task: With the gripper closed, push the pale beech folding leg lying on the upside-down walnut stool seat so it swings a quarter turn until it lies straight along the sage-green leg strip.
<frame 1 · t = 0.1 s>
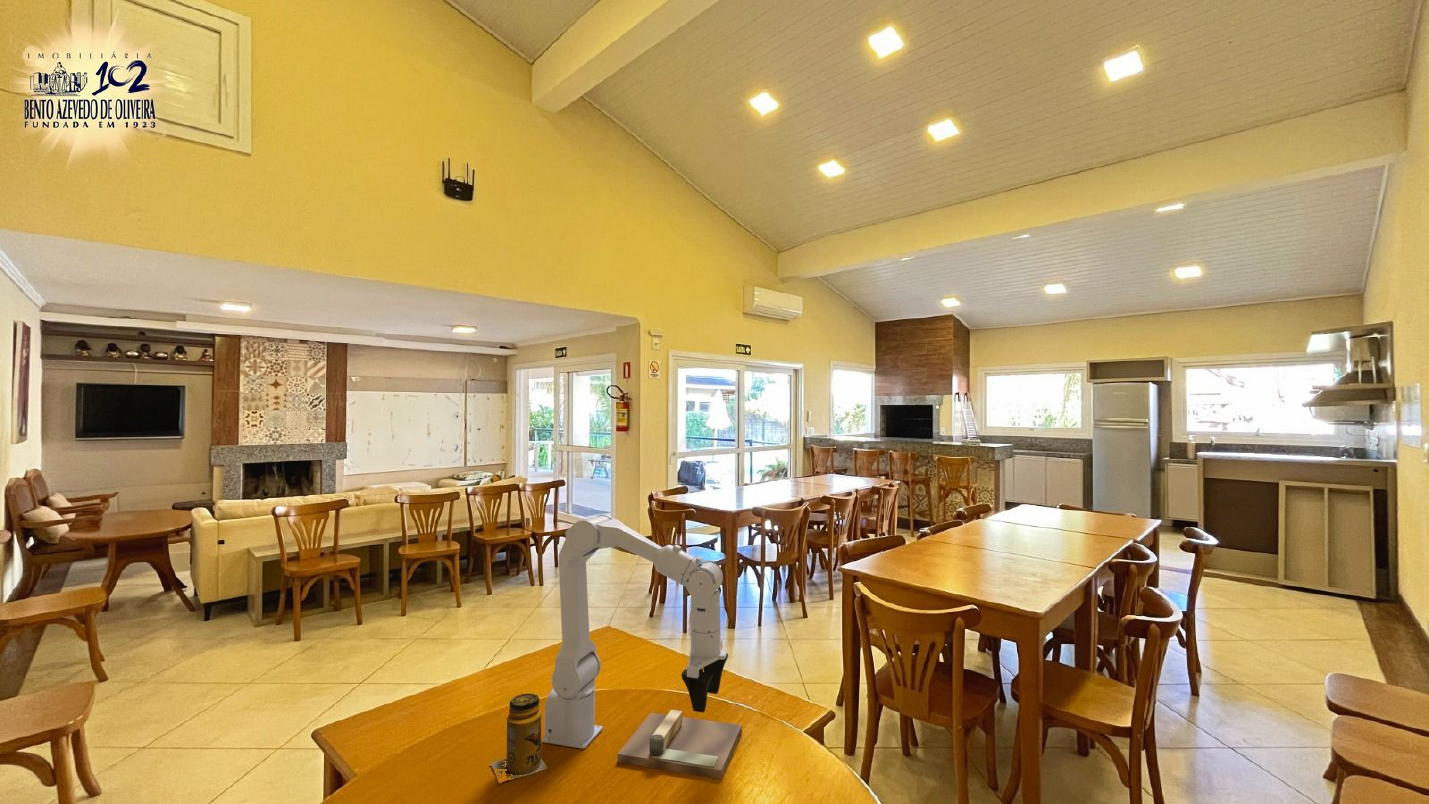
hand: (706, 701, 105), 10 cm above the table, tool pointing down, fingers open, 7 cm apart
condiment: (518, 768, 102), on the table
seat: (682, 746, 108), on the table
leg: (665, 731, 108), point 3 cm above the table, hinge at 90.0°
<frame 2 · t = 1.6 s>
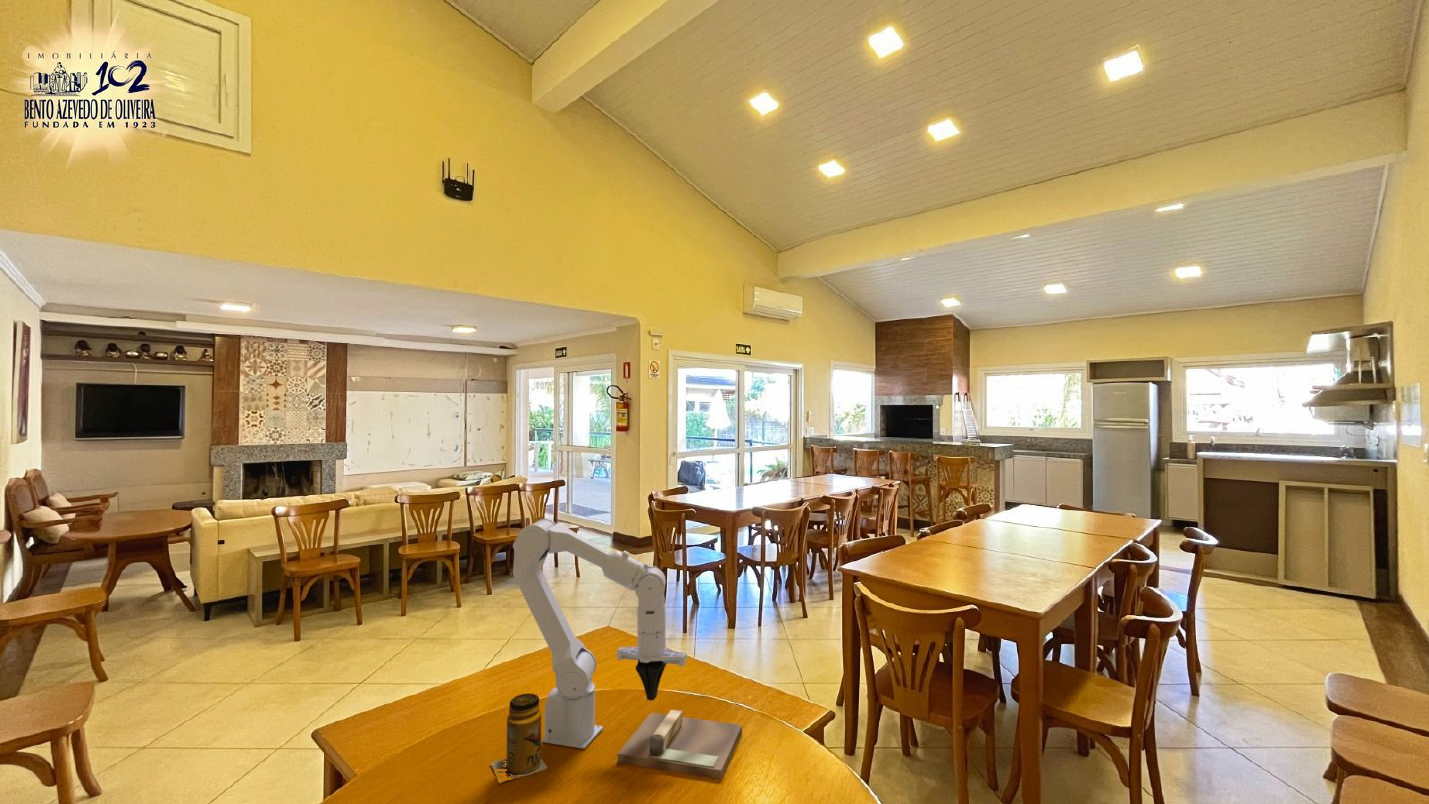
hand: (651, 698, 113), 7 cm above the table, tool pointing down, fingers closed
nothing on the table moved.
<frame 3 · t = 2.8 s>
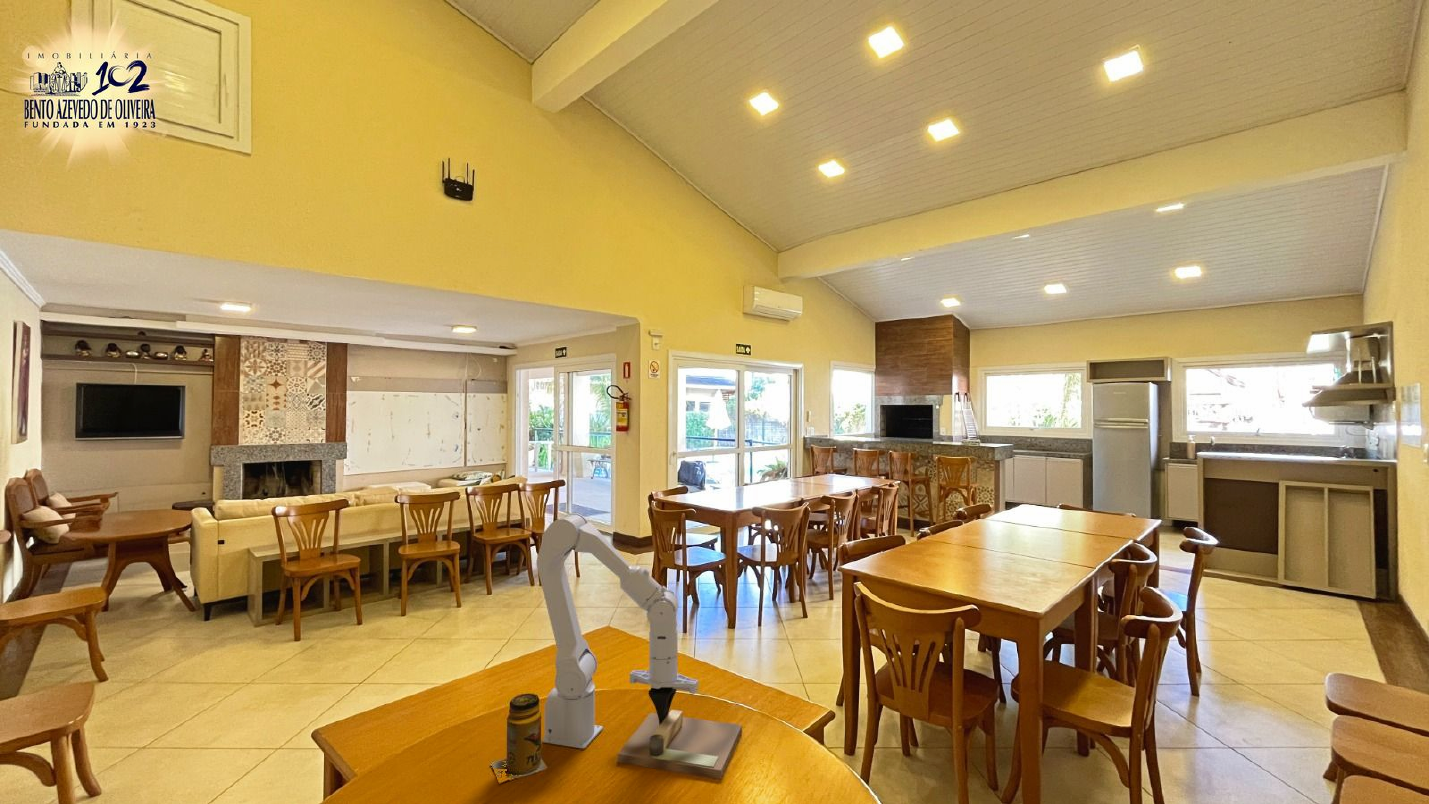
hand: (663, 723, 112), 3 cm above the table, tool pointing down, fingers closed, pressing on leg
leg: (666, 731, 108), point 3 cm above the table, hinge at 89.6°, touching gripper
everything else where it was.
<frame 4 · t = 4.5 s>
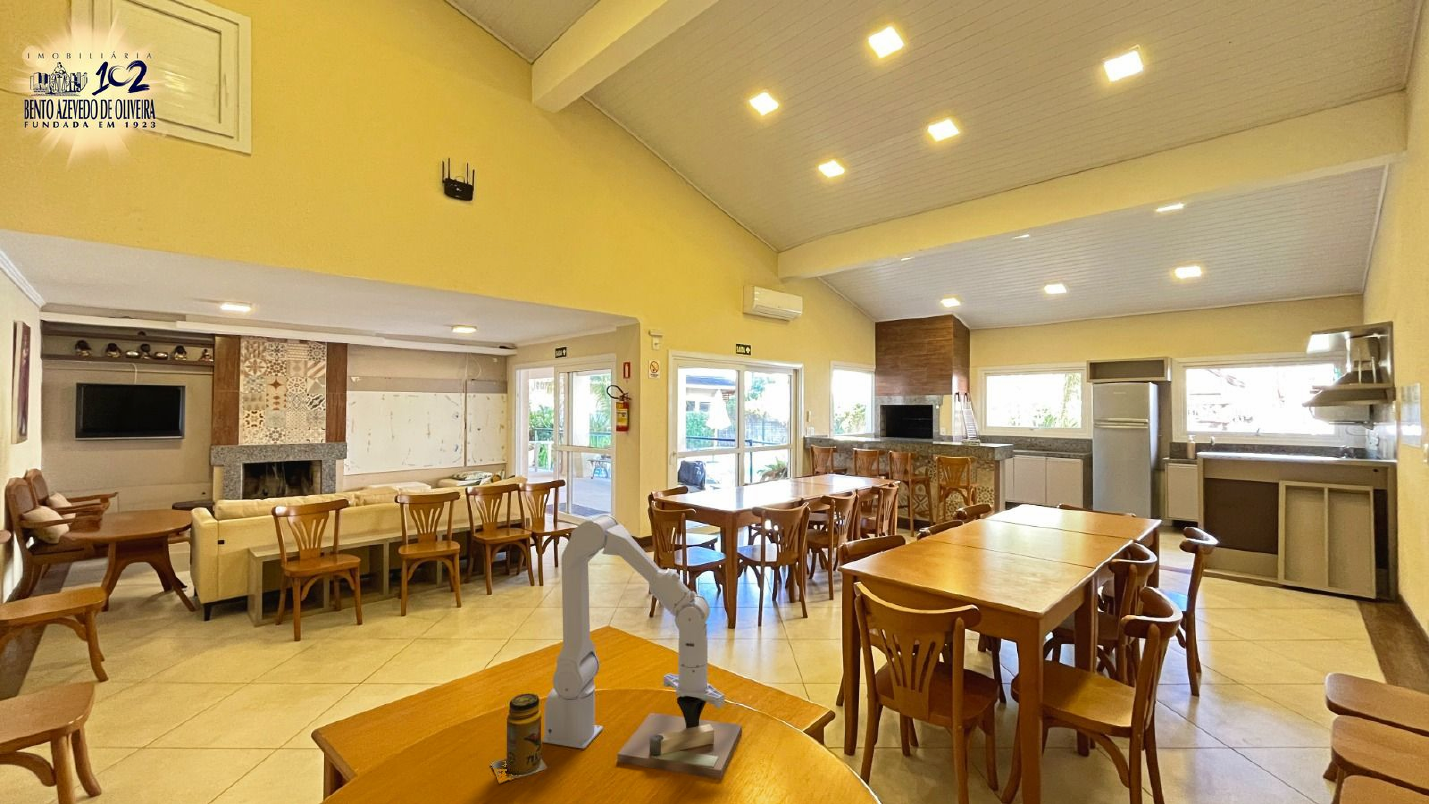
hand: (692, 733, 108), 3 cm above the table, tool pointing down, fingers closed, pressing on leg
leg: (681, 739, 105), point 3 cm above the table, hinge at 36.7°, touching gripper
everything else where it was.
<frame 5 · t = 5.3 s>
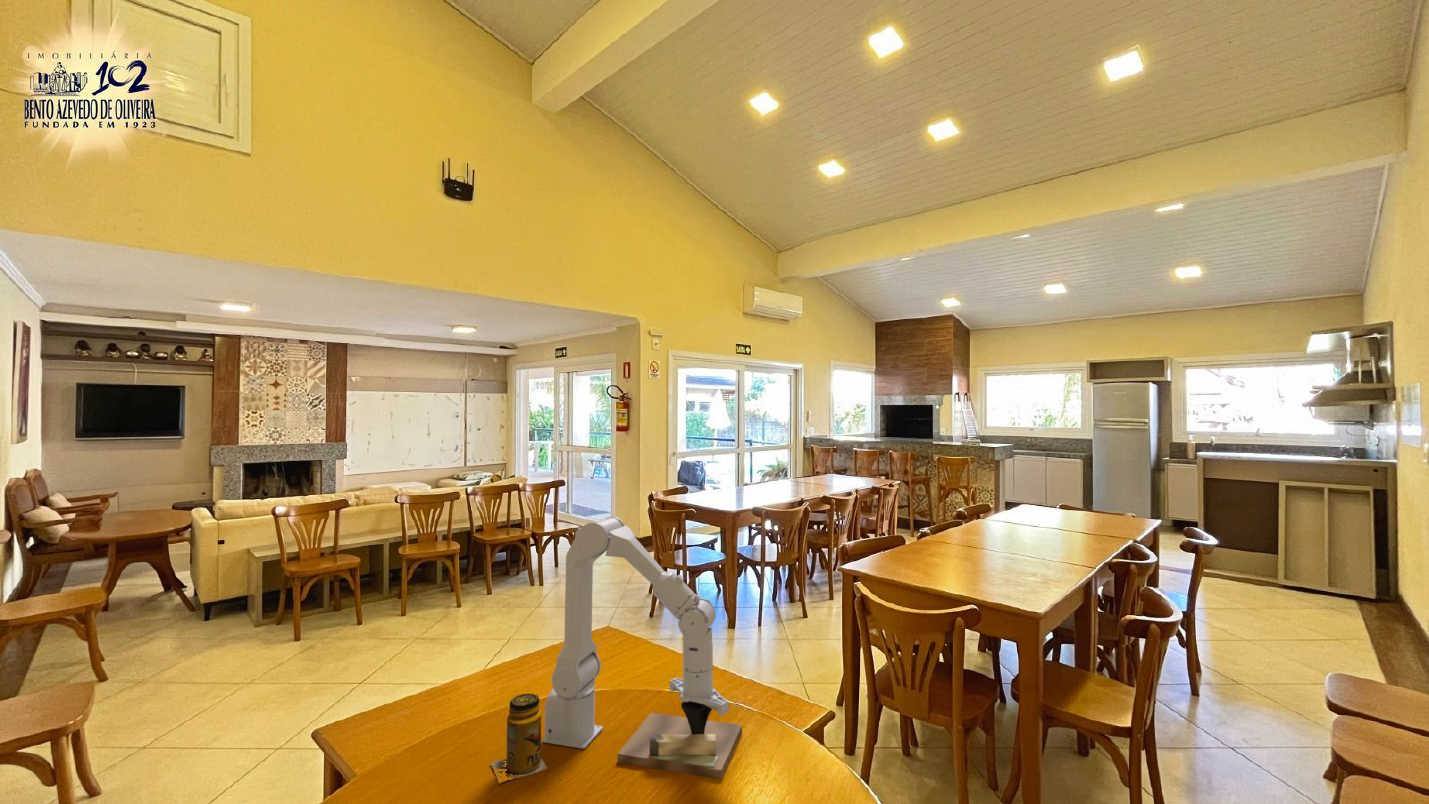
hand: (698, 740, 106), 3 cm above the table, tool pointing down, fingers closed, pressing on leg
leg: (682, 744, 103), point 3 cm above the table, hinge at 16.3°, touching gripper
everything else where it was.
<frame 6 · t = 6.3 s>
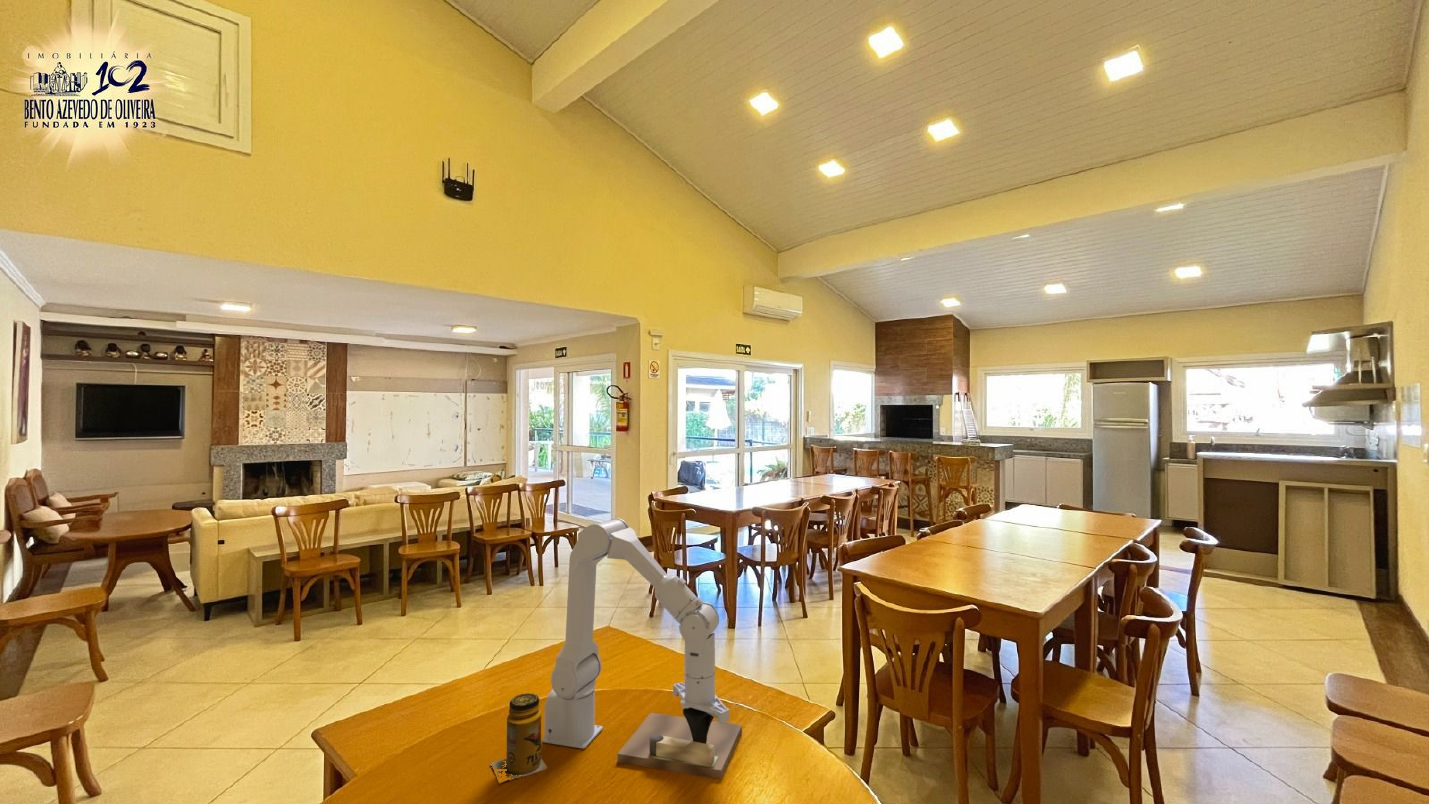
hand: (700, 747, 103), 2 cm above the table, tool pointing down, fingers closed, pressing on leg
leg: (680, 749, 102), point 3 cm above the table, hinge at -3.8°, touching gripper
everything else where it was.
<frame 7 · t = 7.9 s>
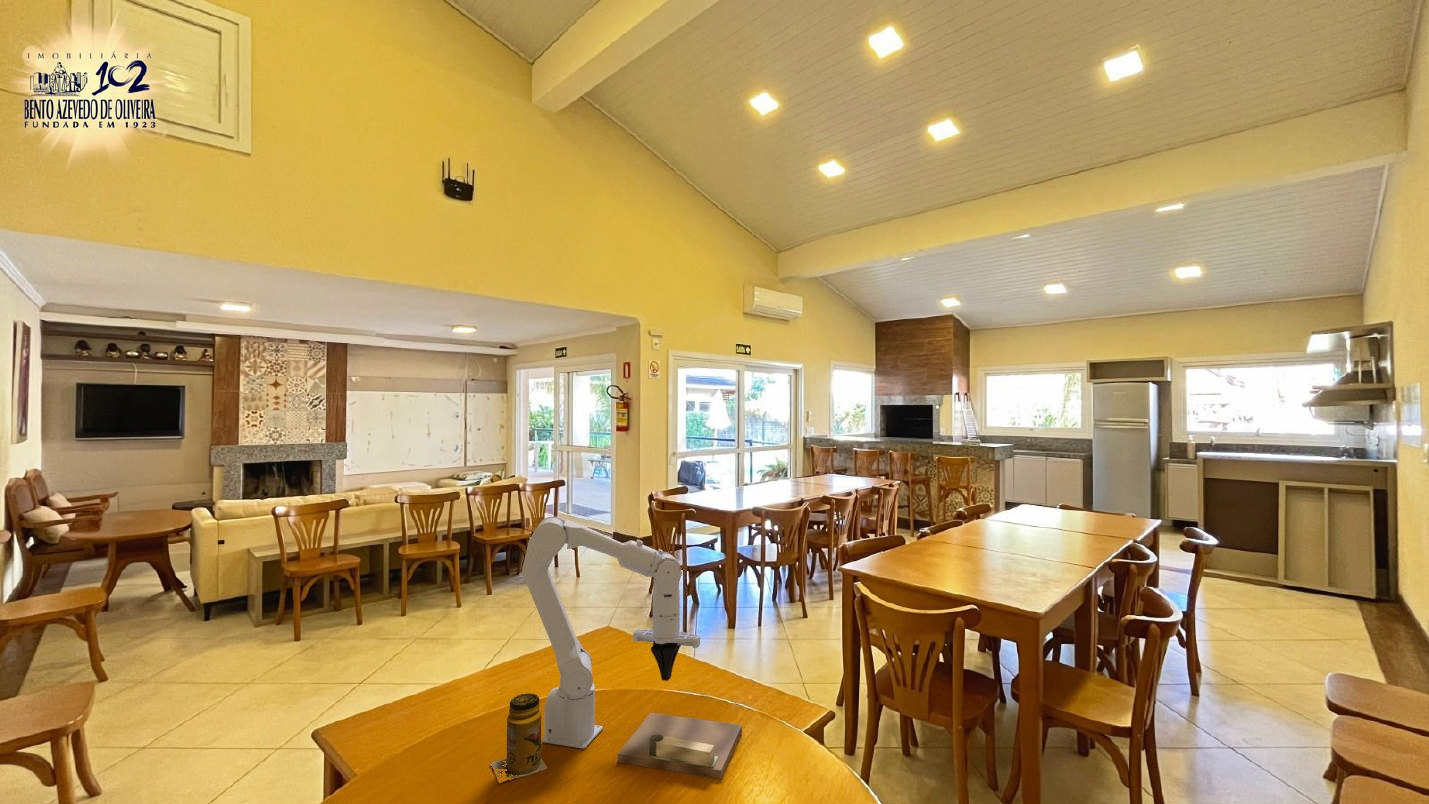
hand: (666, 678, 117), 9 cm above the table, tool pointing down, fingers closed
leg: (680, 749, 102), point 3 cm above the table, hinge at -3.8°
everything else where it was.
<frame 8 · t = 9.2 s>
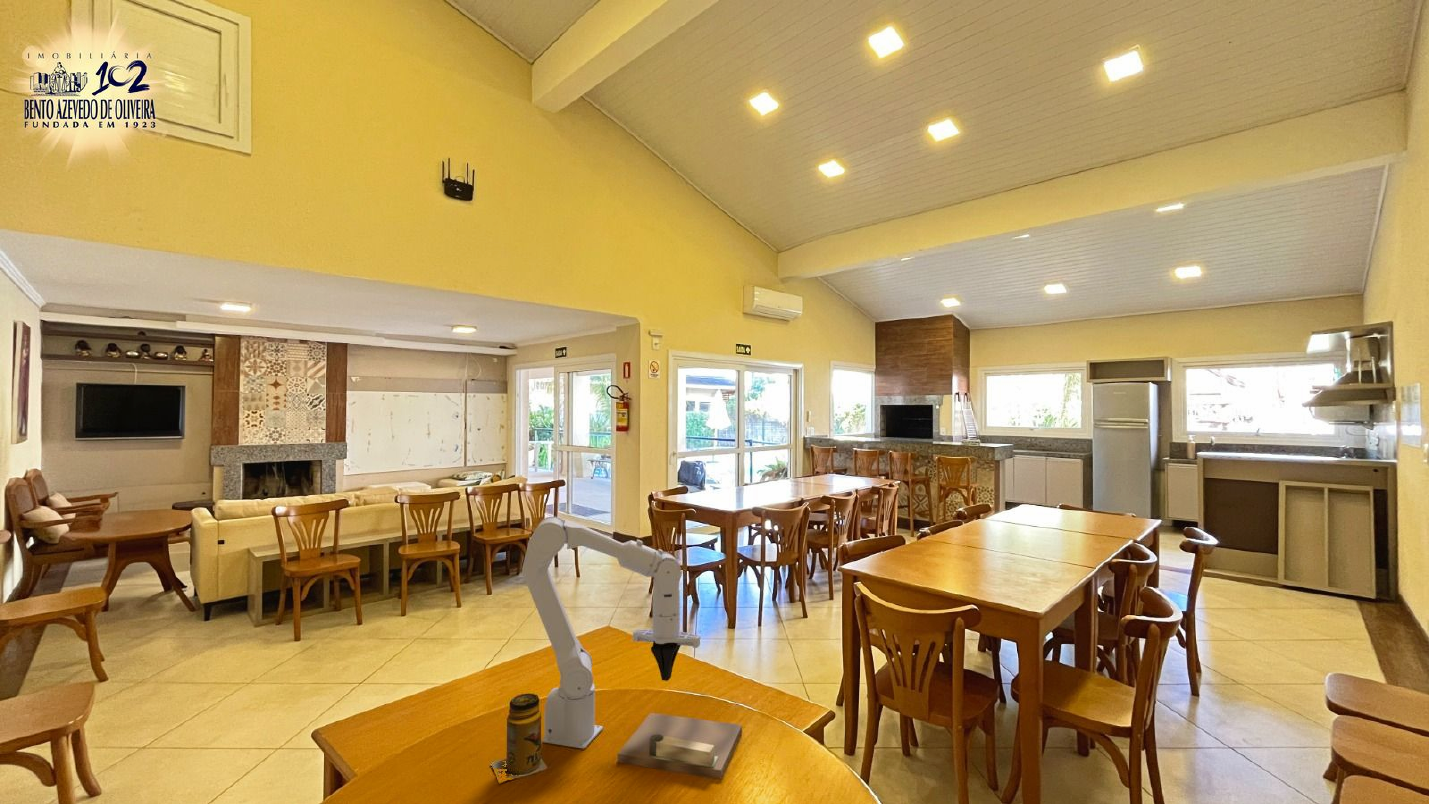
hand: (666, 678, 117), 9 cm above the table, tool pointing down, fingers closed
nothing on the table moved.
at the end: leg at -4° (first picture: +90°); the gripper is holding nothing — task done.
